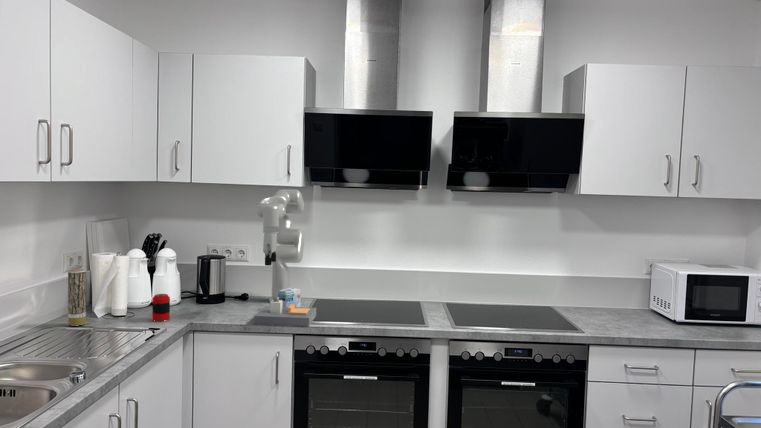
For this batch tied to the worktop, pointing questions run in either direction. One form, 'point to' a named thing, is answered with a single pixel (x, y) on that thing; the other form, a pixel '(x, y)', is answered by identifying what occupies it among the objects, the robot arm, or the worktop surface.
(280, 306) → the plug
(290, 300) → the light bulb box
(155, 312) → the soda can
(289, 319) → the socket plate
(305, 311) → the orange flat block
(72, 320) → the brown bark patterned cylinder
